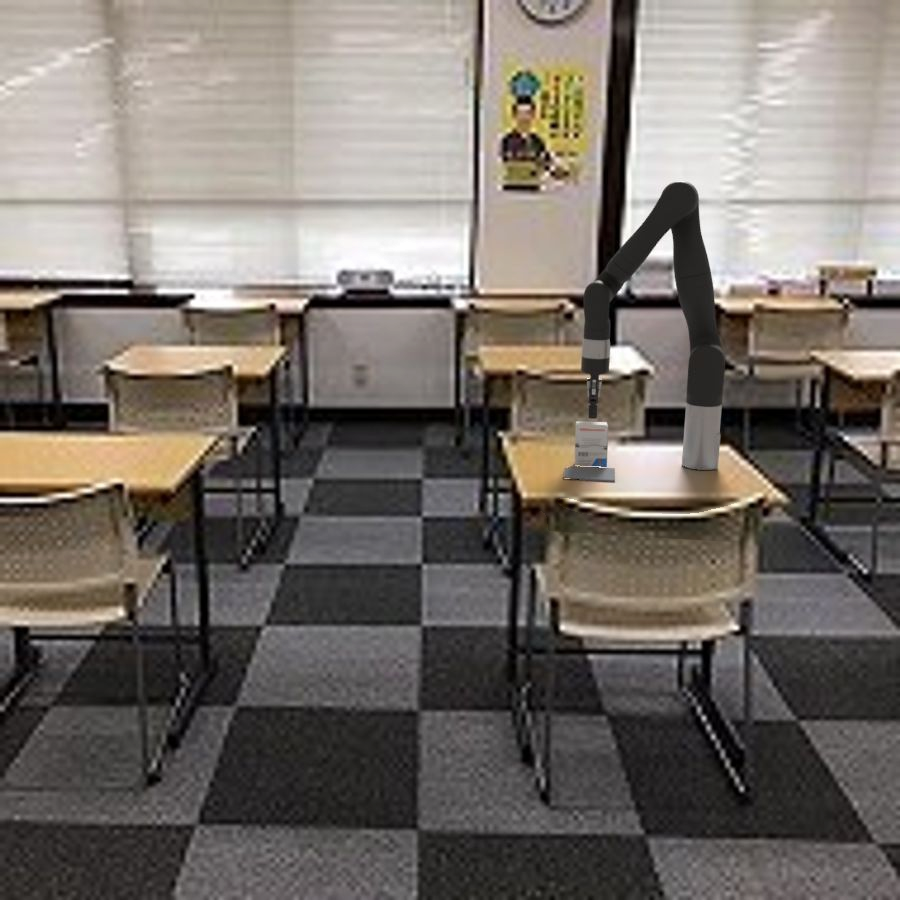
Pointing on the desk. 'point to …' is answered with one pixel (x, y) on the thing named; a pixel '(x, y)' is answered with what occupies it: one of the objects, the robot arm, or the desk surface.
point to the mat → (590, 473)
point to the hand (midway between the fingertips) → (592, 417)
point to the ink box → (591, 443)
